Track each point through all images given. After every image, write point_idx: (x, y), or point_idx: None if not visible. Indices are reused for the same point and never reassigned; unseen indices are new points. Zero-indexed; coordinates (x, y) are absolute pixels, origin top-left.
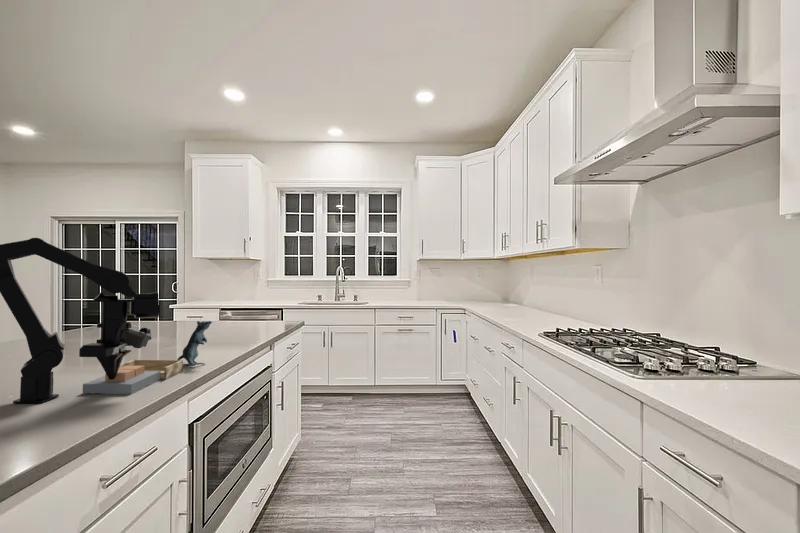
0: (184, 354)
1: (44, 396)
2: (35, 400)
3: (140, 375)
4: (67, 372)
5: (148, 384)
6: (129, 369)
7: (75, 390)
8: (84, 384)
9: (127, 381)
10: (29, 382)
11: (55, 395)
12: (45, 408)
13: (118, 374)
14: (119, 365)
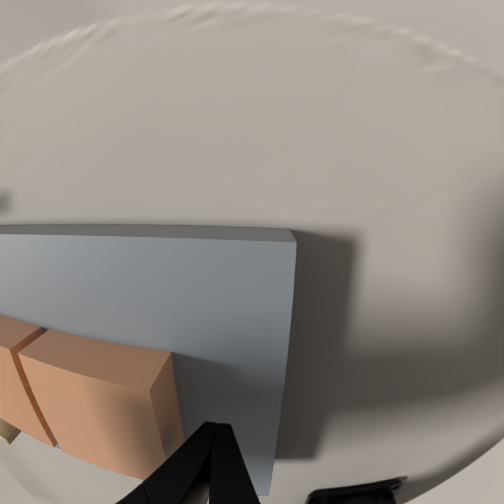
0: None
1: (376, 499)
2: (391, 495)
3: (17, 305)
4: (44, 492)
5: (60, 225)
6: (26, 387)
7: None
8: (268, 490)
9: (184, 327)
10: None
11: (327, 497)
12: (461, 435)
13: (160, 427)
14: (149, 486)
